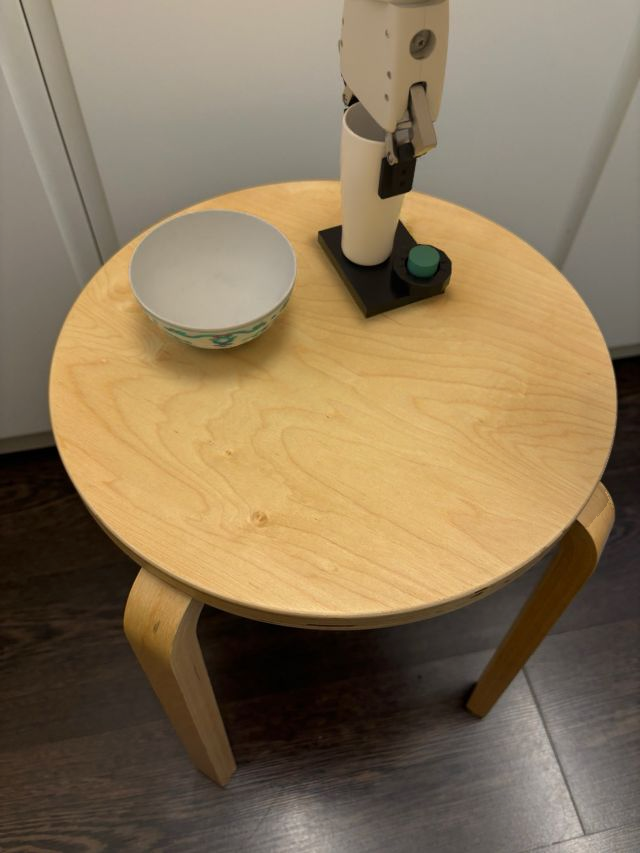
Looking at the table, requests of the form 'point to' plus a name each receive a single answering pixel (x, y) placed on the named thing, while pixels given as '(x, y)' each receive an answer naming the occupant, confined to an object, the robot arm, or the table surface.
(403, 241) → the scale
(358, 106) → the white tall cup
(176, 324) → the chinaware
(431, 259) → the tare button
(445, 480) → the table surface
